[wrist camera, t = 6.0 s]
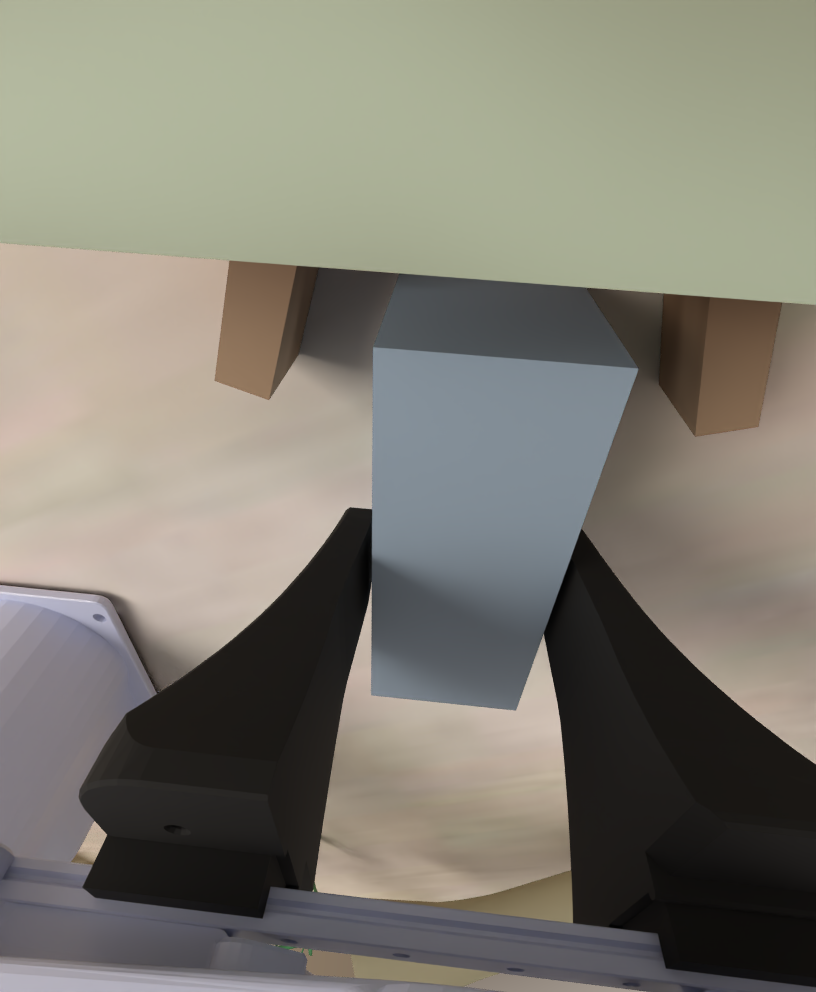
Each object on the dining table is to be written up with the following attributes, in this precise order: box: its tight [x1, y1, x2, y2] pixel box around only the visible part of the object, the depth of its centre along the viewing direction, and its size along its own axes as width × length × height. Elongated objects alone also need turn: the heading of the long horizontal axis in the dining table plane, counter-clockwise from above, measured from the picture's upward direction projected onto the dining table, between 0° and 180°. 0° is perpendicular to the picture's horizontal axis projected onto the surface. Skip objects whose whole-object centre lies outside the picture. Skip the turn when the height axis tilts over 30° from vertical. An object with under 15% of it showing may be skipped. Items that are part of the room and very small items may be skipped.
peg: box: [371, 273, 639, 710], centre depth 13 cm, size 10×4×5 cm, turn 177°
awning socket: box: [0, 0, 816, 437], centre depth 7 cm, size 10×12×7 cm
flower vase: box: [276, 870, 573, 987], centre depth 31 cm, size 12×12×35 cm
